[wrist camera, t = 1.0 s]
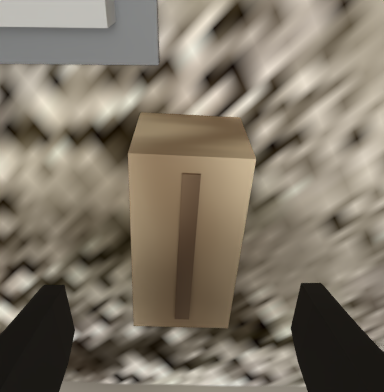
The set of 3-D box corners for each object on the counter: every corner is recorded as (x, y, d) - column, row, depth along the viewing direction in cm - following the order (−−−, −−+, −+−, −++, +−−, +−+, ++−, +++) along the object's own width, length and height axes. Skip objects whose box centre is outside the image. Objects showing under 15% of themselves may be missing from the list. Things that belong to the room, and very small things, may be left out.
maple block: (239, 116, 15) (256, 160, 11) (220, 264, 19) (227, 330, 16) (140, 111, 15) (127, 154, 11) (142, 261, 19) (133, 327, 15)
